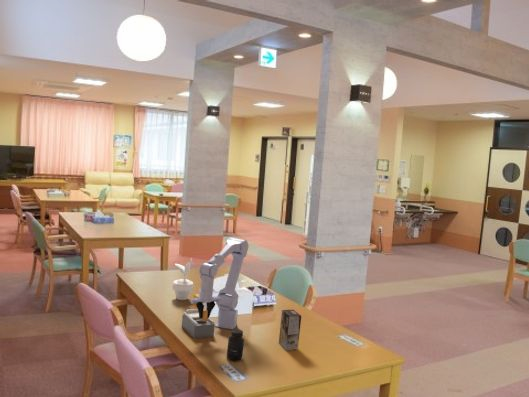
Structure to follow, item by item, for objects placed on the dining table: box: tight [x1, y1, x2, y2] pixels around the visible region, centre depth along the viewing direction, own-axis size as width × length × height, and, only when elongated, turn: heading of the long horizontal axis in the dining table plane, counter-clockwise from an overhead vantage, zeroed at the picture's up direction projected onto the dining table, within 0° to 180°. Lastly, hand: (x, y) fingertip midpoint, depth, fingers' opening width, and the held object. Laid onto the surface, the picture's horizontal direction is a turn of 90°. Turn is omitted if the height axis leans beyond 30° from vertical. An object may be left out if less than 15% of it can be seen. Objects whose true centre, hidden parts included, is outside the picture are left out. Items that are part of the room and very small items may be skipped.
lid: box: [185, 308, 200, 319], centre depth 238 cm, size 7×7×2 cm
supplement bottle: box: [226, 328, 245, 362], centre depth 208 cm, size 7×7×12 cm
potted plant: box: [172, 256, 195, 301], centre depth 282 cm, size 13×12×25 cm
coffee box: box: [278, 309, 302, 351], centre depth 227 cm, size 9×6×16 cm
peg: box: [201, 308, 208, 322], centre depth 229 cm, size 3×3×5 cm
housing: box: [181, 311, 216, 339], centre depth 235 cm, size 16×10×7 cm, turn 30°
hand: (204, 317), depth 229 cm, fingers closed on peg, 3 cm apart
